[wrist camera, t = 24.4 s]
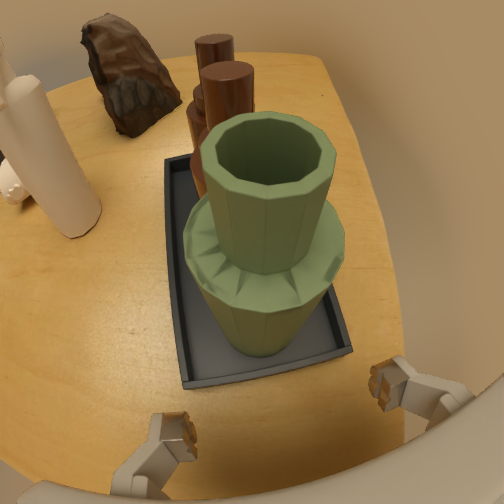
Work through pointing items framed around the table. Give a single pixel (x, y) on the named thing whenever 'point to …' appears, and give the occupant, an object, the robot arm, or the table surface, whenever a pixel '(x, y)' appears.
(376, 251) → the table surface
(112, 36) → the brown rock chunk
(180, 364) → the tray
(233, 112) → the bottle row
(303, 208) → the green bottle
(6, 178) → the mug
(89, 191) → the fire extinguisher
